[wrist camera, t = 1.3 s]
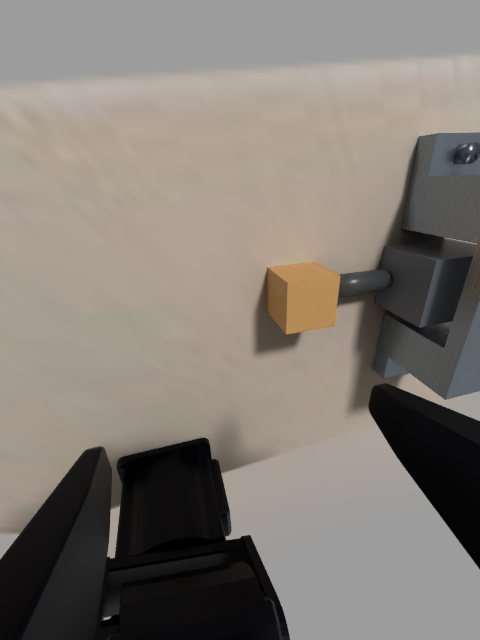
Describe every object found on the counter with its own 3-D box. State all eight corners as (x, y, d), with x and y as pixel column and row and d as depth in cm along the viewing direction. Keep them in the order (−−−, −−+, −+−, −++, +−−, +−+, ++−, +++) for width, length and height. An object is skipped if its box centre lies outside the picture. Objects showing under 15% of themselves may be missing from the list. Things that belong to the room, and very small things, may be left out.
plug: (267, 319, 19) (293, 351, 15) (267, 259, 17) (296, 279, 14) (432, 293, 22) (485, 315, 18) (447, 238, 20) (509, 251, 16)
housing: (373, 369, 23) (436, 424, 18) (419, 136, 16) (544, 115, 11) (415, 360, 24) (486, 410, 19) (475, 135, 17) (617, 115, 12)
